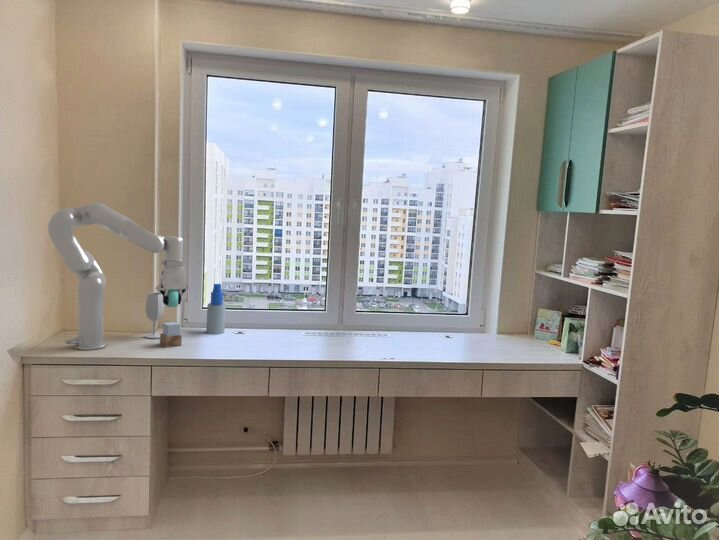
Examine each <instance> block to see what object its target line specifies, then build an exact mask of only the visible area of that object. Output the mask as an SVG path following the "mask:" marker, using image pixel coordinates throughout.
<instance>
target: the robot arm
mask: <svg viewBox="0 0 719 540" xmlns="http://www.w3.org/2000/svg"><path fill="white" fill-rule="evenodd" d="M95 224H96V225H98V226H99V227H102V228H104V229H106V230H108V231H110V232H111V233H113V234H115V235H117V236H118V237H121V238H122V239H125V240H126V241H129V242H130V243H132V244H134V245H136V246H137V247H140V248H142V249H144V250H145V251H148V252H149V253H151V254H158V253H161V252H164V259H163V261H161V264H160V265H163V266H162V269H161V273H160V282H159V283H158V285H157V286H156V287H155V289H156V291H157V292H158V293H161V294H162V295H163V303H164V306H165V305H168V296H167V294H168V291H169V290H179V293H178V305H181V302H182V296H183V294H184V293H186V291H187V290H188V289H189V288H190V286H189V285H188V284H187V283H186V281H187V280H186V269H185V267H184V266H183V253H184V252H183V251H184V250H183V249H184V248H183V247H184V239H183V237H181V236H175V235H169V236H167V235H166V236H165V235H159V234H154V233H152V232H151V231H149V230H147V229H145V228H143V227H142V226H140V225H138V224H137V223H136V222H134V221H133V220H132V219H131V218H129V217H128V216H126V215H124V214H121V213H119V212H118V211H116V210H114V209H113V208H111V207H108V206H107V205H106V204H105V203H103V202H102V203H101V202H93V203H91V204H88V205H81V206H75V207H70V208H69V207H68V208H67V207H66V208H61V209H58V210H57V211H56V212H55V213H54V214H53V215H52V216H51V218H50V219H49V221H48V226H47V229H48V230H47V231H48V235H49V238H50V240H51V242H52V244H53V246H54V247H55V249H56V251H57V252H58V254H59V256H60V257H61V259H62V261H63V262H64V264H65V266H66V267H67V269H68V270H69V271H70V272H71V273H74V274H76V276H77V278H78V280H79V282H78V285H77V295H78V296H77V297H78V301H77V302H78V310H77V311H78V316H77V317H78V319H77V322H78V323H77V325H78V326H77V327H78V329H77V335H75V337H73V338H66V339H64V343H65V344H66V345H68V344H69V345H73V348H74V349H76V350H82V351H92V350H93V351H94V350H99V349H104V348H106V347H107V345H108V343H107V341H104V317H105V316H104V311H105V310H104V309H105V308H104V307H105V305H104V302H105V300H104V299H105V298H104V297H105V295H104V292H105V291H104V290H105V287H106V285H107V278H106V276H105V274H104V273H103V271H102V268H101V267H100V266H99V264H98V262H97V261H96V259H95V258H94V257H95V256H93V255H92V254H91V253H90V252H89V251H88V250H86V249H84V248H83V247H82V245H81V244H80V242H79V241H78V238H77V237H76V236H75V234H74V232H73V229H75V228H79V227H86V226H91V225H95Z"/></svg>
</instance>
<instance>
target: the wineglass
mask: <svg viewBox="0 0 719 540" xmlns="http://www.w3.org/2000/svg"><path fill="white" fill-rule="evenodd" d="M164 312H165V304H164V303H163V295H162V294H161V293H160V292H148V295H147V297H146V301H145V314H146V318H148V319H149V320H150V321H152V332H150V333H146V334H144V336H143V337H144V338H145V339H149V340H151V339H152V340H153V339H156V340H157V339H160V334H161V333H159V332H157V321H158V322H159V320H160V319H161V318H163V315H164Z"/></svg>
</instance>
